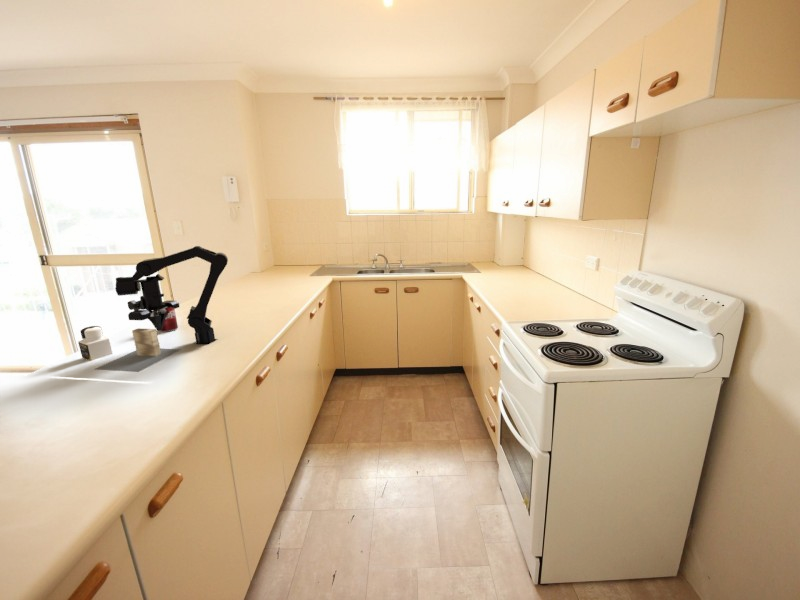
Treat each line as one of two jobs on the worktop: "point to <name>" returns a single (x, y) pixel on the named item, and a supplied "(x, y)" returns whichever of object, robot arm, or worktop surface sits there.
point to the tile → (146, 342)
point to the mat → (136, 361)
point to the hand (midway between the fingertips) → (159, 330)
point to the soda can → (170, 321)
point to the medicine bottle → (94, 343)
